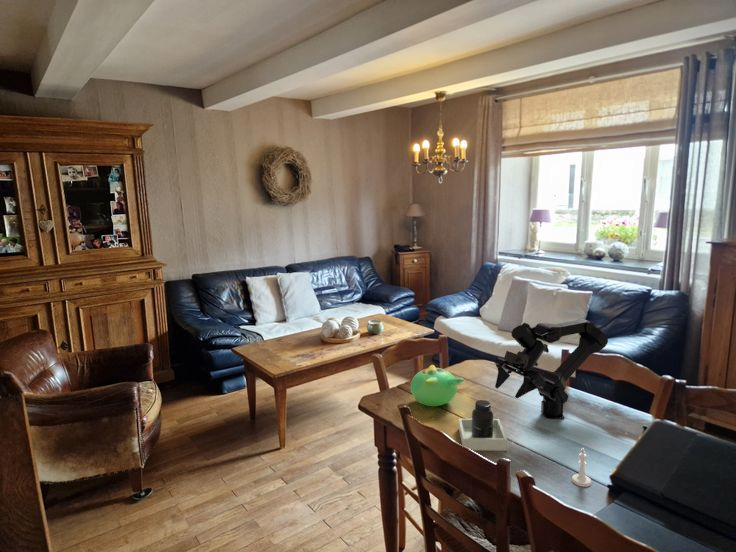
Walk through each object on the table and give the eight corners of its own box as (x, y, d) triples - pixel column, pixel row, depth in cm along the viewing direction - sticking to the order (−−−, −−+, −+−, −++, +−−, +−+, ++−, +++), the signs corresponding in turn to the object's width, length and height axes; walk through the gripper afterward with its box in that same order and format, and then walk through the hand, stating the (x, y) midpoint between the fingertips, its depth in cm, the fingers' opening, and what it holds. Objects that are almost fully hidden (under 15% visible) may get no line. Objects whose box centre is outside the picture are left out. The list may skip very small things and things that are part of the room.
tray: (498, 429, 159) (499, 418, 159) (507, 450, 146) (507, 439, 145) (458, 428, 160) (458, 418, 160) (463, 450, 147) (463, 439, 146)
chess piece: (585, 475, 132) (587, 443, 130) (594, 486, 127) (596, 452, 125) (568, 476, 132) (570, 444, 130) (577, 487, 127) (578, 453, 125)
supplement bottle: (471, 441, 151) (471, 406, 148) (471, 430, 157) (471, 397, 155) (493, 443, 149) (493, 408, 147) (492, 432, 155) (493, 399, 153)
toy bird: (444, 391, 191) (444, 357, 188) (466, 408, 175) (466, 371, 173) (404, 399, 185) (403, 364, 182) (423, 417, 169) (423, 379, 167)
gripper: (498, 335, 164) (474, 371, 161) (540, 349, 148) (514, 390, 144) (514, 352, 169) (491, 387, 166) (556, 368, 153) (531, 407, 149)
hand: (505, 392), depth 156 cm, fingers open, 9 cm apart
